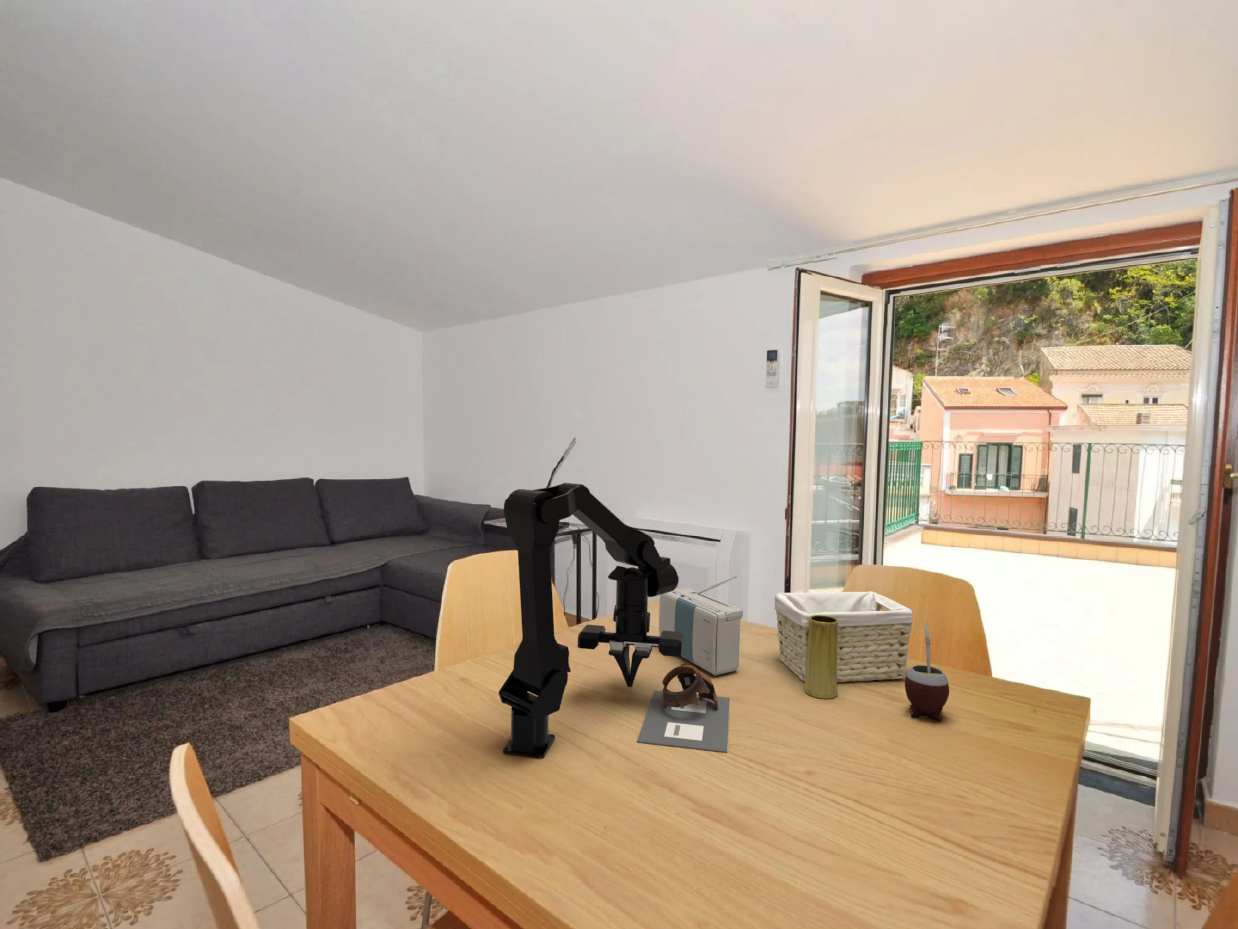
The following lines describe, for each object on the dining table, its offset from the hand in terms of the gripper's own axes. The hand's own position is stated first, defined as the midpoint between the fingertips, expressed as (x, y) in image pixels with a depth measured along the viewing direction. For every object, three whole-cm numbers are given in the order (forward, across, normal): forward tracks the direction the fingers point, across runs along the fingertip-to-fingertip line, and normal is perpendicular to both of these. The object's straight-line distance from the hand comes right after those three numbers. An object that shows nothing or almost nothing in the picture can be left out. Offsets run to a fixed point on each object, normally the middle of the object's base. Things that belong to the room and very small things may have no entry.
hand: (630, 686), depth 114 cm
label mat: (+3, -11, +5) cm, 12 cm away
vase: (+3, -35, -12) cm, 37 cm away
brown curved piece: (+2, -11, 0) cm, 11 cm away
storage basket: (+3, -40, -25) cm, 47 cm away
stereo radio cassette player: (+3, -11, -24) cm, 26 cm away
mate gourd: (+3, -52, -7) cm, 52 cm away
